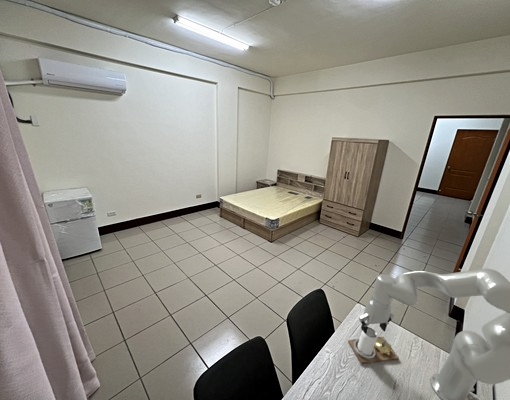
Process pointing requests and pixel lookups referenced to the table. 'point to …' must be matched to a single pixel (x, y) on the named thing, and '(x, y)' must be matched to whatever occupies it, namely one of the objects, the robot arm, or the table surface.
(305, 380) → the table surface
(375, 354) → the ring
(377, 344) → the gear
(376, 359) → the gear board
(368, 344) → the can
